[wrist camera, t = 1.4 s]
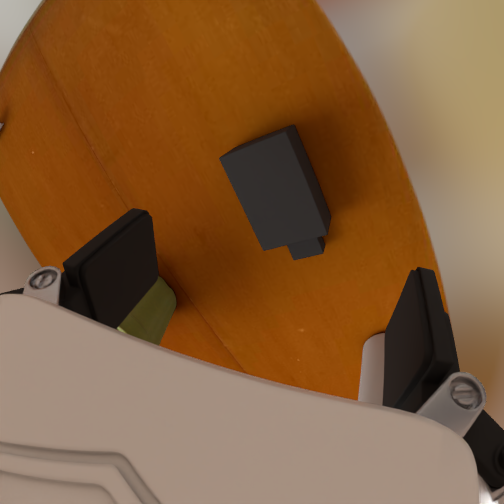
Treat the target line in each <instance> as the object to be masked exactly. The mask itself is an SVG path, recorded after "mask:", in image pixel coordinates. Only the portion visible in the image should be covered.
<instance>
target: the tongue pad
mask: <svg viewBox="0 0 504 504" xmlns="http://www.w3.org/2000/svg"><path fill="white" fill-rule="evenodd" d="M219 159H220V161H221V163H222V166H223V168H224V170H225V172H226V174H227V176H228V178H229V180H230V182H231V184H232V186H233V188H234V190H235V192H236V195H237V197H238V199H239V201H240V203H241V205H242V207H243V209H244V211H245V213H246V215H247V217H248V220H249V222H250V224H251V226H252V228H253V230H254V232H255V234H256V236H257V238H258V240H259V243H260V245H261V247H262V249H263V251H265V250H269V249H273V248H277V247H281V246H285V245H287V246H288V248H289V251H290V253H291V255H292V258H293V260H297V259H302V258H306V257H310V256H314V255H319V254H323V252H324V248H325V243H324V241H323V238H322V236H324V235H327V234H328V230H329V225H330V220H331V215H330V212H329V210H328V207H327V204H326V202H325V199H324V196H323V194H322V191H321V189H320V186H319V183H318V181H317V178H316V176H315V173H314V171H313V168H312V166H311V163H310V161H309V158H308V156H307V154H306V151H305V149H304V146H303V144H302V142H301V139H300V137H299V135H298V132H297V130H296V128H295V125H291V126H288V127H286V128H283V129H280V130H278V131H275V132H272V133H270V134H267V135H265V136H262V137H260V138H257V139H255V140H252V141H250V142H247V143H245V144H242V145H240V146H238V147H235V148H233V149H232V150H230V151H229V152H227V153H226V154H224V155H223V156H221V157H220V158H219Z"/></svg>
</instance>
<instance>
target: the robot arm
mask: <svg viewBox="0 0 504 504" xmlns="http://www.w3.org/2000/svg"><path fill="white" fill-rule="evenodd" d="M63 267H64V270H65V271H64V272H63V273H61V271H60V270H59V268H57V267H53V266H47V267H43V268H40V269H38V270H36V271H34V272H33V273H31V274H30V276H29V277H28V278H27V280H26V283H25V286H24V288H21V289H17V290H13V291H9V292H5V293H1V294H0V504H504V430H503V429H502V428H501V427H500V426H499V425H498V424H497V423H496V422H495V421H494V420H493V419H492V418H491V417H490V416H489V415H488V414H487V413H486V412H485V411H484V410H483V408H484V406H485V403H486V392H485V389H484V387H483V385H482V383H481V382H480V381H479V380H478V379H477V378H476V377H474V376H473V375H471V374H469V373H466V372H460V370H459V364H458V358H457V352H456V347H455V342H454V337H453V332H452V328H451V323H450V319H449V316H448V314H447V313H446V312H444V308H443V304H442V299H441V295H440V291H439V288H438V284H437V280H436V276H435V273H434V271H433V270H430V269H425V268H421V267H417V269H416V270H411V271H410V273H409V276H408V278H407V281H406V283H405V286H404V288H403V291H402V293H401V296H400V298H399V301H398V303H397V305H396V308H395V310H394V312H393V315H392V317H391V319H390V321H389V324H388V326H387V328H386V331H385V337H384V383H383V402H382V406H381V405H377V404H372V403H366V402H361V401H356V400H351V399H346V398H342V397H337V396H333V395H328V394H324V393H319V392H315V391H310V390H306V389H302V388H298V387H293V386H289V385H285V384H281V383H277V382H274V381H270V380H266V379H262V378H259V377H255V376H252V375H248V374H244V373H241V372H238V371H234V370H231V369H227V368H224V367H221V366H218V365H214V364H211V363H208V362H205V361H202V360H199V359H196V358H193V357H190V356H187V355H184V354H181V353H178V352H175V351H172V350H169V349H166V348H164V347H161V346H158V345H155V344H153V343H150V342H147V341H144V340H142V339H139V338H137V337H134V336H131V335H129V334H126V333H124V332H121V331H119V330H116V329H117V328H118V327H119V325H120V324H121V323H122V322H123V321H124V319H125V318H126V317H127V316H128V315H129V313H130V312H131V311H132V310H133V309H134V307H135V306H136V305H137V304H138V303H139V302H140V300H141V299H142V298H143V297H144V296H145V294H146V293H147V292H148V291H149V290H150V289H151V287H152V286H153V285H154V284H155V283H156V281H157V279H158V275H159V272H158V265H157V257H156V249H155V240H154V231H153V222H152V217H151V216H150V215H149V213H148V212H147V211H146V210H141V209H135V208H133V209H131V210H130V211H128V212H127V213H126V214H124V215H123V216H122V217H120V218H119V219H118V220H116V221H115V222H114V223H112V224H111V225H110V226H108V227H107V228H106V229H104V230H103V231H102V232H101V233H99V234H98V235H97V236H95V237H94V238H93V239H92V240H90V241H89V242H88V243H87V244H85V245H84V246H83V247H82V248H80V249H79V250H78V251H77V252H75V253H74V254H73V255H72V256H71V257H69V258H68V259H67V260H66V261H65V262H63Z"/></svg>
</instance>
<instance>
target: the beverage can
mask: <svg viewBox="0 0 504 504" xmlns="http://www.w3.org/2000/svg"><path fill="white" fill-rule="evenodd" d="M384 337H385V333H380V334H376V335H374V336H372V337H371V338H369V339H368V340H367V341H366V342H365V344H364V346H363V356H362V368H361V378H360V388H359V396H358V401H361V402H366V403H372V404H377V405H381V406H382V402H383V383H384Z"/></svg>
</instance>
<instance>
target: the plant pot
mask: <svg viewBox="0 0 504 504" xmlns="http://www.w3.org/2000/svg"><path fill="white" fill-rule="evenodd" d="M175 308H176V297H175V294H174V292H173V290H172V289H171V288H169V287H168V285H167V284H166V283H165V281H164V280H163V279H162V278H161V277H159V276H158V279H157V281H156V283H155V284H154V285H153V286H152V287H151V289H150V290H149V291H148V292H147V293H146V294H145V296H144V297H143V298H142V299H141V300H140V302H139V303H138V304H137V305H136V306H135V307H134V309H133V310H132V311H131V312H130V313H129V315H128V316H127V317H126V318H125V319H124V321H123V322H122V323H121V324H120V325H119V327H118V328H117V329H116V330H119V331H121V332H124V333H126V334H129V335H131V336H134V337H137V338H139V339H142V340H144V341H147V342H150V343H153V344H155V345H158V346H159V344H160V342H161V339H162V337H163V335H164V332H165V330H166V328H167V326H168V324H169V321H170V319H171V317H172V315H173V313H174V310H175Z"/></svg>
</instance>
